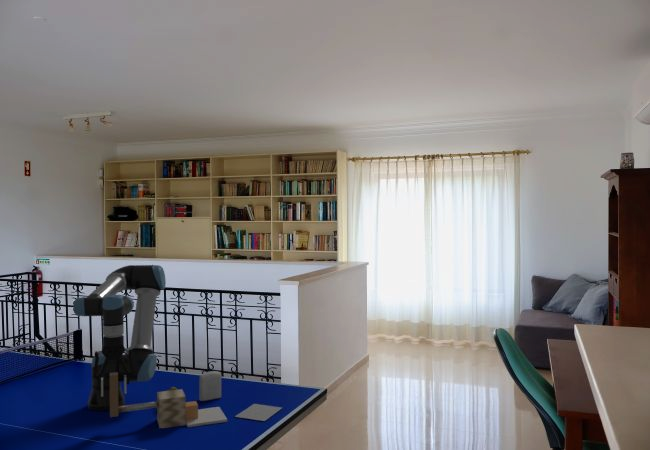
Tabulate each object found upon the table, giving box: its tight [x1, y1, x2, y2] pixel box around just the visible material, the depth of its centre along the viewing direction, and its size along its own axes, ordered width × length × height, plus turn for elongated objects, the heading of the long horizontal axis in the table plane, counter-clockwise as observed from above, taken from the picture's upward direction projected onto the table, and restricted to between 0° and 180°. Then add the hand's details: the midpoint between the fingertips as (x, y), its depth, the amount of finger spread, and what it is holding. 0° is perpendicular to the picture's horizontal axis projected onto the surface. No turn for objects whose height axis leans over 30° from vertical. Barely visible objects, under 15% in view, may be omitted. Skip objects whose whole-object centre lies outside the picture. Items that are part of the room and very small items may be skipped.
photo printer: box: [198, 370, 222, 402], centre depth 249 cm, size 10×4×12 cm, turn 123°
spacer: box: [186, 400, 199, 420], centre depth 223 cm, size 5×5×6 cm
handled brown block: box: [109, 372, 159, 418], centre depth 217 cm, size 26×4×16 cm, turn 112°
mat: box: [185, 406, 228, 428], centre depth 226 cm, size 16×16×1 cm
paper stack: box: [234, 403, 283, 422], centre depth 237 cm, size 23×25×1 cm
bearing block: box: [156, 388, 187, 429], centre depth 220 cm, size 10×10×11 cm
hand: (113, 394), depth 212 cm, fingers open, 8 cm apart
